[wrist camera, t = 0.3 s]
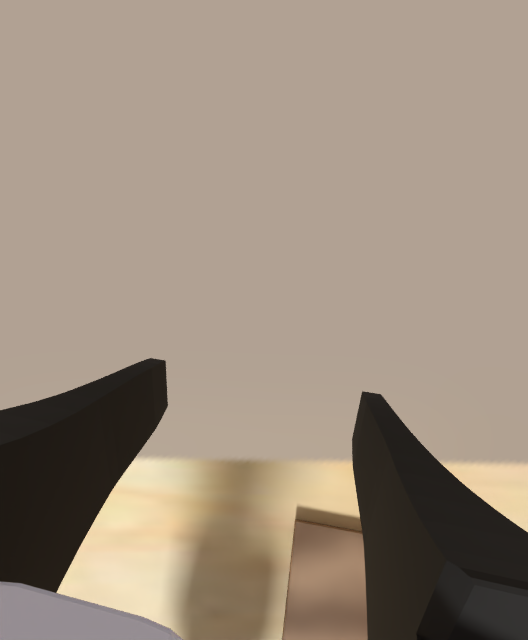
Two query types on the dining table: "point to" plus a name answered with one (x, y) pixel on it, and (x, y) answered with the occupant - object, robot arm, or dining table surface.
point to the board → (326, 584)
